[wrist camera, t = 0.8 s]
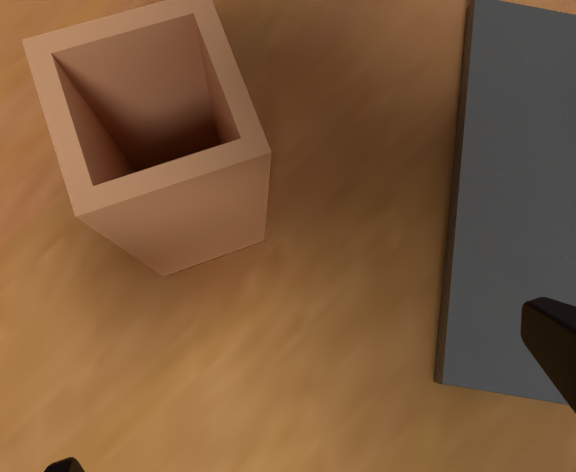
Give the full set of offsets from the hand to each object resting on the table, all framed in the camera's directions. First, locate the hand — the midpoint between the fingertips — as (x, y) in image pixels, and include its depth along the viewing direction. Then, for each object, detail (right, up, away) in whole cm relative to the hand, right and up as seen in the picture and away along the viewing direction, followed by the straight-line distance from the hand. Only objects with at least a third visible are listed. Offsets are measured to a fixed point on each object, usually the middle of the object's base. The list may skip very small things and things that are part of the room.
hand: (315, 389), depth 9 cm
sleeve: (-5, +4, +14) cm, 15 cm away
